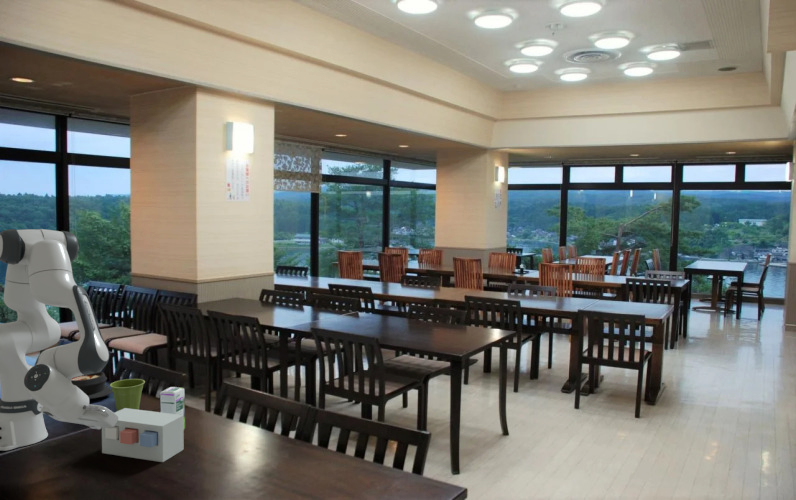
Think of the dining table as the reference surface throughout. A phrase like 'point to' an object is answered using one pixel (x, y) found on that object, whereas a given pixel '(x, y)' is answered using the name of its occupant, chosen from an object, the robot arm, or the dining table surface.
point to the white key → (112, 433)
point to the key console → (163, 423)
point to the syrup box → (173, 401)
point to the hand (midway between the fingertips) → (97, 426)
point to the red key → (129, 436)
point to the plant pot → (127, 393)
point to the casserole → (92, 385)
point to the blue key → (149, 439)
